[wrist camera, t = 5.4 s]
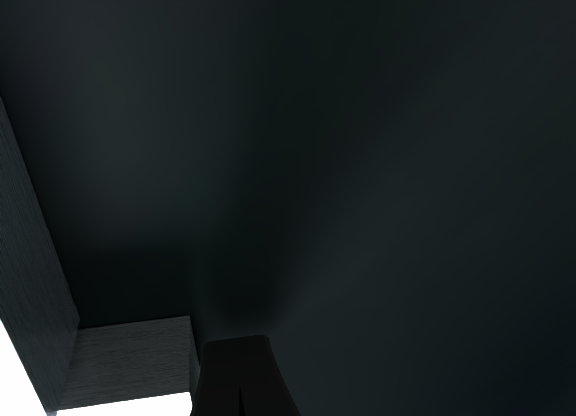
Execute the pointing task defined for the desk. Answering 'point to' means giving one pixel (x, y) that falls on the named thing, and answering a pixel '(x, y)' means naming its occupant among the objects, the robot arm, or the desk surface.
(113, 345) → the bar
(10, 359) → the socket block
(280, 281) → the desk surface
